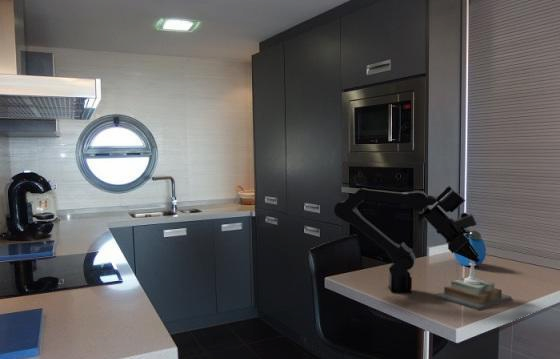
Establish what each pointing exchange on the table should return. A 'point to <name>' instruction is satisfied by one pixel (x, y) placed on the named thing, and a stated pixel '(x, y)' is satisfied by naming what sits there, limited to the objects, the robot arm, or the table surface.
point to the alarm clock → (477, 245)
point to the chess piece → (472, 275)
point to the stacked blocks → (473, 291)
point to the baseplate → (472, 304)
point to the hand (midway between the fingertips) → (477, 258)
